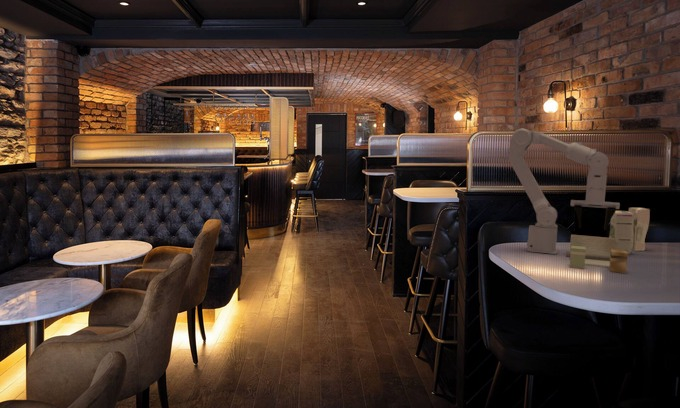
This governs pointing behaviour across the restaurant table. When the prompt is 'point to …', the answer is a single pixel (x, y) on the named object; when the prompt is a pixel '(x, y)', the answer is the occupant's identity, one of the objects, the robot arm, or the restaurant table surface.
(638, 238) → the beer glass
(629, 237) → the syrup box
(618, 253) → the oak block
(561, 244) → the restaurant table surface
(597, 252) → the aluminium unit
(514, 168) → the robot arm
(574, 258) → the sage block
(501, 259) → the restaurant table surface
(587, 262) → the pad
